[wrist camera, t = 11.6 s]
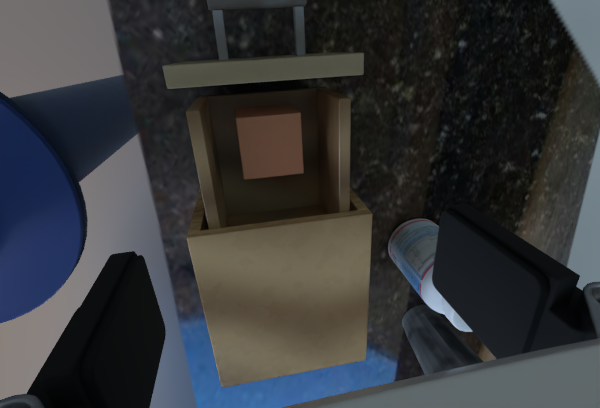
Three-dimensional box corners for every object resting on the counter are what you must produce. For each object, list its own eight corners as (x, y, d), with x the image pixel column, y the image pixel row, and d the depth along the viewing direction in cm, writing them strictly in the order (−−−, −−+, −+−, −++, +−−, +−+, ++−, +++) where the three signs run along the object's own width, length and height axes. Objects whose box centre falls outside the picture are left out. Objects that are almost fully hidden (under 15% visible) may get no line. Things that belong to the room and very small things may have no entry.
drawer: (170, -4, 23) (141, -29, 16) (329, -10, 24) (366, -35, 18) (212, 220, 31) (206, 270, 24) (332, 205, 32) (359, 247, 25)
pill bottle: (431, 261, 38) (500, 335, 28) (382, 264, 37) (436, 342, 27) (443, 214, 36) (523, 277, 26) (390, 216, 35) (453, 283, 25)
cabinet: (200, 184, 30) (186, 237, 21) (335, 169, 32) (372, 213, 23) (225, 308, 36) (221, 388, 28) (336, 290, 38) (366, 360, 29)
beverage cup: (381, 335, 42) (488, 544, 24) (408, 290, 40) (549, 486, 22) (427, 343, 44) (556, 540, 26) (455, 301, 42) (618, 487, 24)
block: (242, 162, 28) (243, 180, 24) (235, 108, 26) (235, 118, 22) (294, 156, 28) (303, 173, 24) (291, 103, 26) (300, 112, 22)
